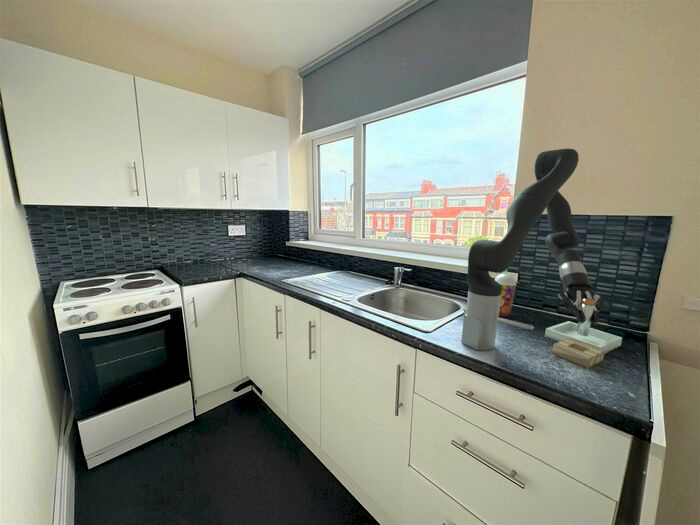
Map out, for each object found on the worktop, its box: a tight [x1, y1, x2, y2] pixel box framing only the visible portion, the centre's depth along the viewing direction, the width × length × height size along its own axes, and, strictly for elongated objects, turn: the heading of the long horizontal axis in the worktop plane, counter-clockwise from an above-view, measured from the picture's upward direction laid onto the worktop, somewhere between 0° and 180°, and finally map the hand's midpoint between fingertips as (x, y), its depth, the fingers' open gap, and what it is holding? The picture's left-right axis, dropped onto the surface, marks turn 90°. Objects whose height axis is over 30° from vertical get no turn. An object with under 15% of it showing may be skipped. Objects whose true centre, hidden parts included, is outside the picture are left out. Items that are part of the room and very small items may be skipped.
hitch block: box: [551, 338, 605, 369], centre depth 83 cm, size 9×9×3 cm
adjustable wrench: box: [462, 308, 534, 331], centre depth 109 cm, size 25×6×2 cm, turn 46°
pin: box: [577, 298, 596, 336], centre depth 92 cm, size 3×3×12 cm
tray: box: [544, 320, 623, 355], centre depth 93 cm, size 15×15×3 cm
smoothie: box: [494, 269, 517, 317], centre depth 115 cm, size 8×8×20 cm
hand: (589, 322), depth 90 cm, fingers closed on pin, 3 cm apart
